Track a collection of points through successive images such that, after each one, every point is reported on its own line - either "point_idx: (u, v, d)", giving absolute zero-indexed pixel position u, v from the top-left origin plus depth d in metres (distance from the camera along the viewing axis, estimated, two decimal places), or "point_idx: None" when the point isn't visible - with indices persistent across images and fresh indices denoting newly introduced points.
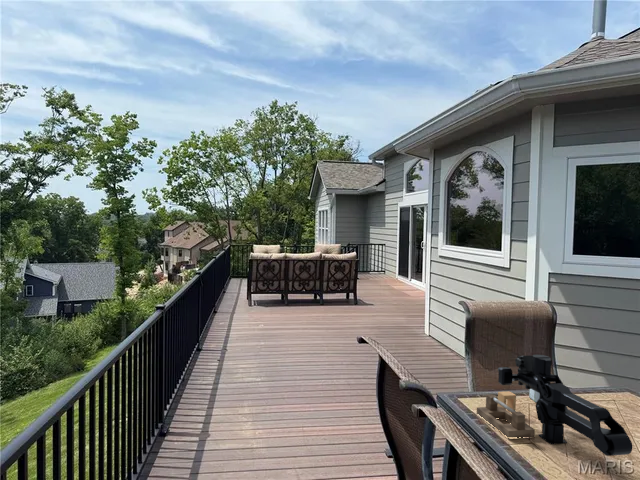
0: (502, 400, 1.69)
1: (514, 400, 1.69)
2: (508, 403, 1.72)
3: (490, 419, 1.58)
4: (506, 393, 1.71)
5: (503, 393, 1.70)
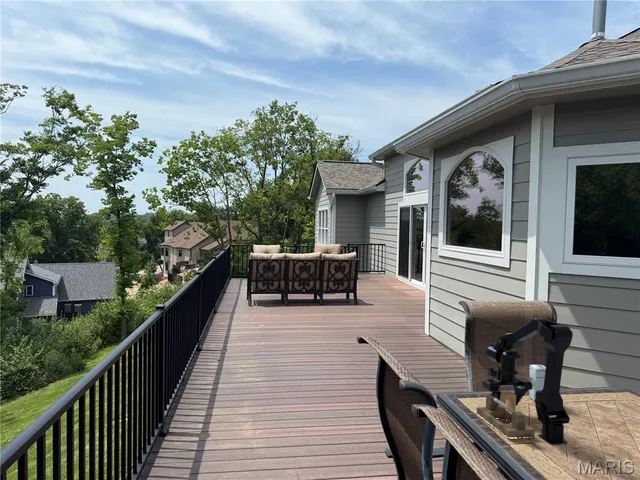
0: (502, 400, 1.69)
1: (514, 400, 1.69)
2: (508, 403, 1.72)
3: (490, 419, 1.58)
4: (506, 393, 1.71)
5: (503, 393, 1.70)
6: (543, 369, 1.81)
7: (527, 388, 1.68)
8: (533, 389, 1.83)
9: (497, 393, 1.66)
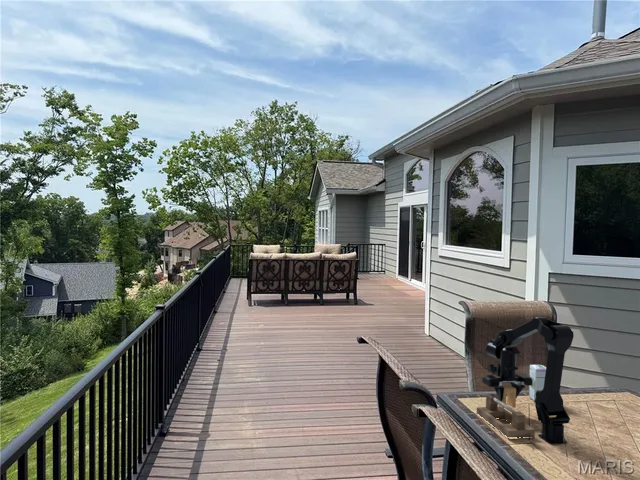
0: None
1: (514, 394, 1.69)
2: (508, 397, 1.72)
3: (490, 419, 1.58)
4: (506, 386, 1.71)
5: None
6: (543, 369, 1.81)
7: (527, 384, 1.68)
8: (533, 389, 1.83)
9: (500, 389, 1.67)
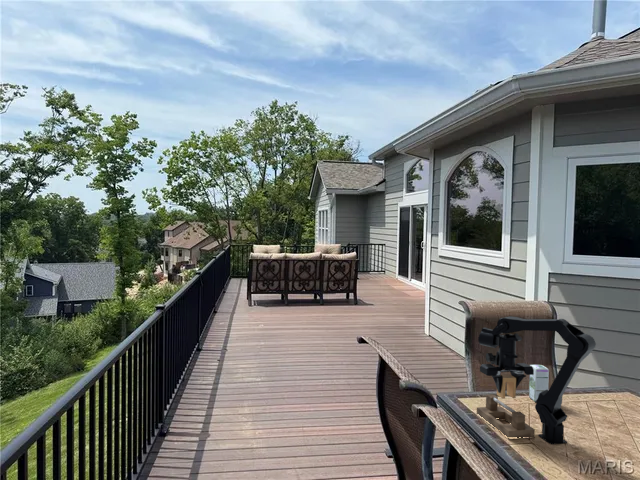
0: None
1: (514, 384, 1.59)
2: (508, 387, 1.62)
3: (490, 419, 1.58)
4: (505, 376, 1.61)
5: None
6: (543, 369, 1.81)
7: (528, 373, 1.59)
8: (533, 389, 1.83)
9: (499, 378, 1.57)
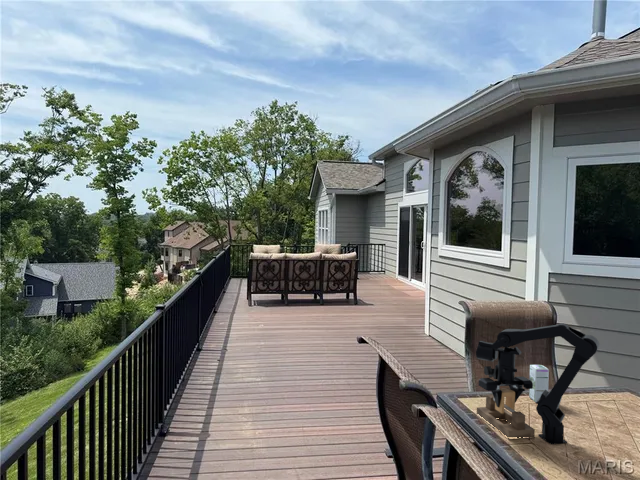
0: None
1: (513, 398, 1.56)
2: (507, 401, 1.59)
3: (490, 419, 1.58)
4: (504, 390, 1.58)
5: (501, 390, 1.58)
6: (543, 369, 1.81)
7: (527, 387, 1.56)
8: (533, 389, 1.83)
9: (498, 393, 1.54)
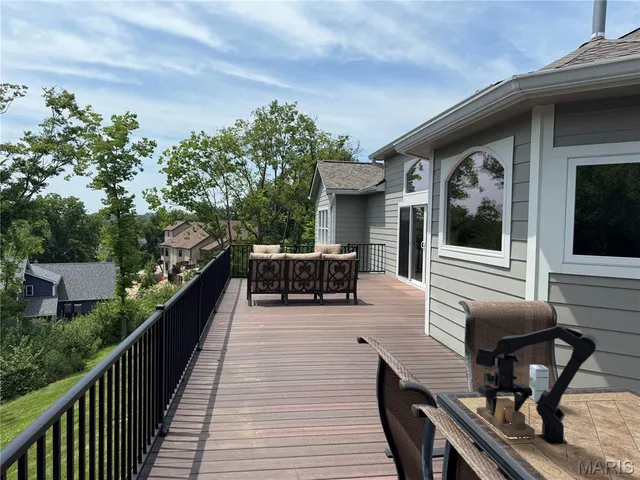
0: (499, 407, 1.56)
1: (512, 408, 1.56)
2: (506, 410, 1.59)
3: (490, 419, 1.58)
4: (503, 399, 1.58)
5: (501, 400, 1.58)
6: (543, 369, 1.81)
7: (527, 394, 1.56)
8: (533, 389, 1.83)
9: (493, 400, 1.54)
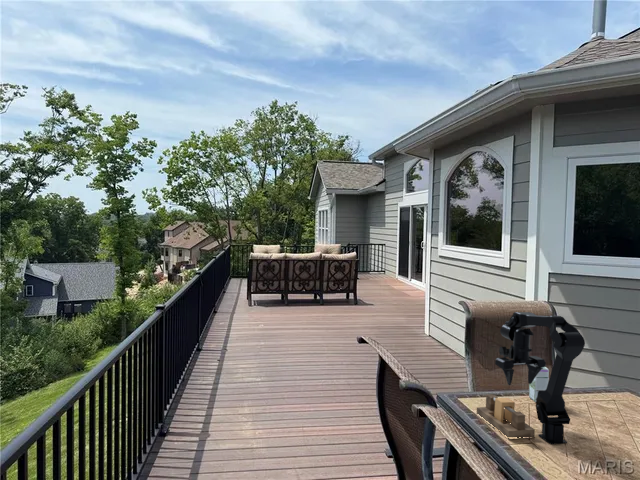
0: (499, 407, 1.56)
1: (512, 408, 1.56)
2: (506, 411, 1.59)
3: (490, 419, 1.58)
4: (503, 399, 1.58)
5: (501, 400, 1.58)
6: (543, 369, 1.81)
7: (540, 366, 1.65)
8: (533, 389, 1.83)
9: (510, 371, 1.63)
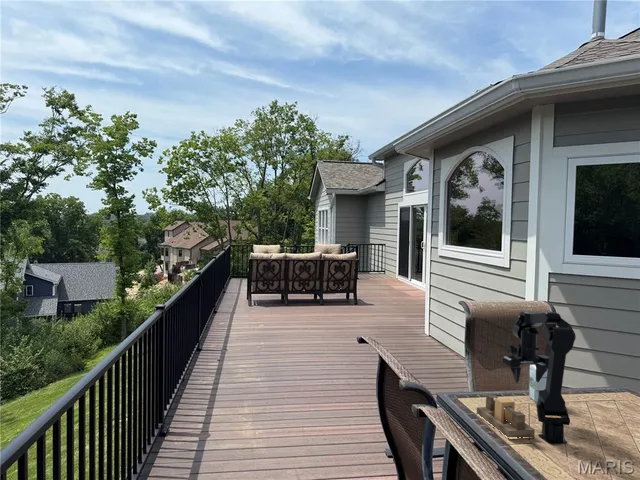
0: (499, 407, 1.56)
1: (512, 408, 1.56)
2: (506, 410, 1.59)
3: (490, 419, 1.58)
4: (503, 399, 1.58)
5: (501, 400, 1.58)
6: None
7: (548, 364, 1.69)
8: (533, 389, 1.83)
9: (517, 369, 1.67)
